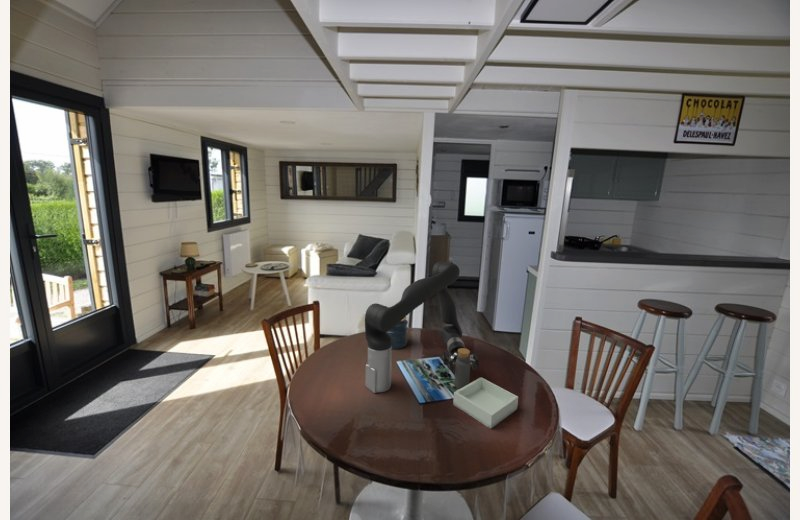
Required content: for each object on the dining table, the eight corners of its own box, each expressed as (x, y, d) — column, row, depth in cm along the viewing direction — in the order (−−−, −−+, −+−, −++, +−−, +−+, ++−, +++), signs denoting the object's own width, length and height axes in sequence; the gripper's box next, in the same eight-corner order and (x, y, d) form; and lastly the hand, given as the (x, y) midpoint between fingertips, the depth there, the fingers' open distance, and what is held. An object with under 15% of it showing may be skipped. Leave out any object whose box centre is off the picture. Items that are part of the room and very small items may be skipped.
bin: (490, 429, 107) (491, 415, 106) (453, 404, 119) (453, 392, 118) (517, 409, 118) (518, 396, 117) (480, 388, 130) (481, 377, 129)
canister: (383, 337, 173) (384, 305, 170) (408, 338, 172) (409, 306, 169) (379, 348, 161) (380, 314, 157) (406, 350, 159) (407, 316, 156)
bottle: (469, 390, 128) (471, 355, 125) (453, 388, 129) (456, 353, 126) (469, 382, 134) (471, 348, 131) (454, 380, 135) (456, 346, 132)
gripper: (440, 340, 143) (445, 359, 127) (473, 341, 143) (482, 359, 127) (440, 356, 145) (444, 376, 129) (472, 357, 145) (481, 377, 129)
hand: (463, 368), depth 128 cm, fingers open, 8 cm apart
